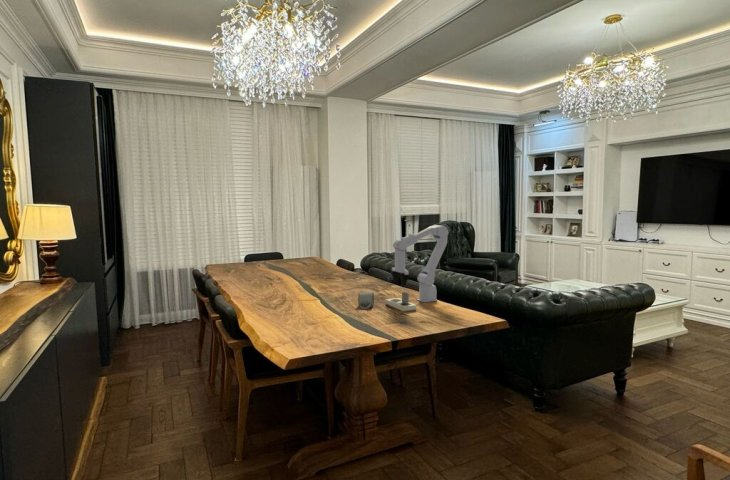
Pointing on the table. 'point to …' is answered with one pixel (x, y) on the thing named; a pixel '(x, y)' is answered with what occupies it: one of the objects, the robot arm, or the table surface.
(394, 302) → the board
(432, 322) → the table surface
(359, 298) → the ceramic mug
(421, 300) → the robot arm
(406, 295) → the pin
